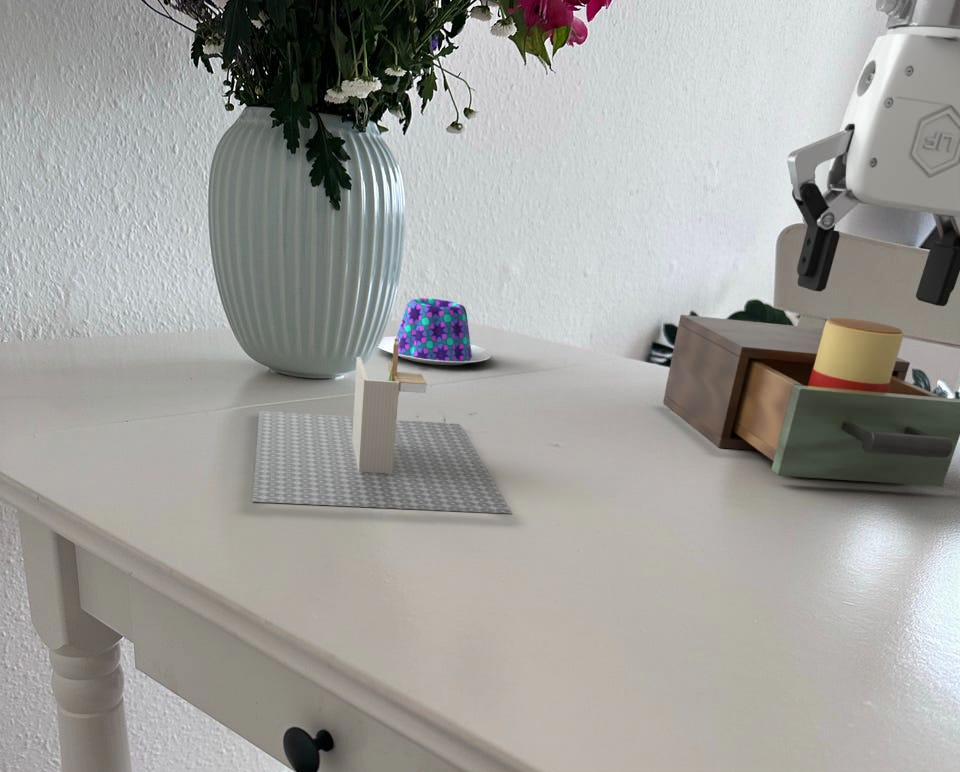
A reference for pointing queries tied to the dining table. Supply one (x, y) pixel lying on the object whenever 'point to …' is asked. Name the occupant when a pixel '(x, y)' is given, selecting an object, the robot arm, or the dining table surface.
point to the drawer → (846, 427)
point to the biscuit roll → (856, 355)
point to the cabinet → (730, 368)
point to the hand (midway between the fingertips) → (870, 295)
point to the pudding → (435, 334)
